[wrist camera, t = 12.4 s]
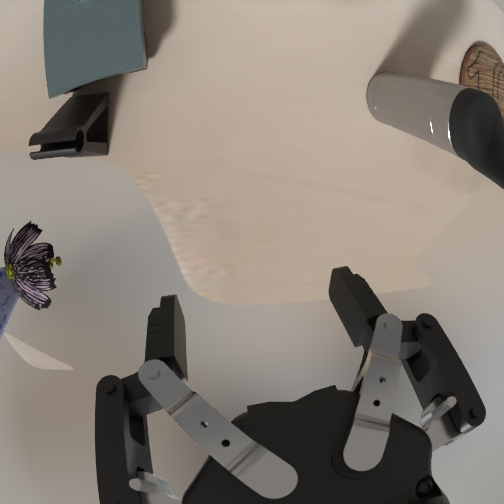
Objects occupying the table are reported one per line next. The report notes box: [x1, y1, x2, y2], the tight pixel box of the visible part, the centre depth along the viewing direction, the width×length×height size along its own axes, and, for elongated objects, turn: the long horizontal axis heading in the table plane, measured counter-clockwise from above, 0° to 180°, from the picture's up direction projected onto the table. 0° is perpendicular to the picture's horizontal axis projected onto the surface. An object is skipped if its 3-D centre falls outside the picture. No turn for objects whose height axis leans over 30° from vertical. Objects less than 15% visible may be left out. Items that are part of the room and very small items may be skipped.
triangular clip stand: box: [29, 93, 109, 160], centre depth 25 cm, size 9×6×12 cm, turn 171°
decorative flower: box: [4, 221, 61, 310], centre depth 34 cm, size 15×12×15 cm
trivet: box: [459, 45, 504, 121], centre depth 34 cm, size 25×25×2 cm
